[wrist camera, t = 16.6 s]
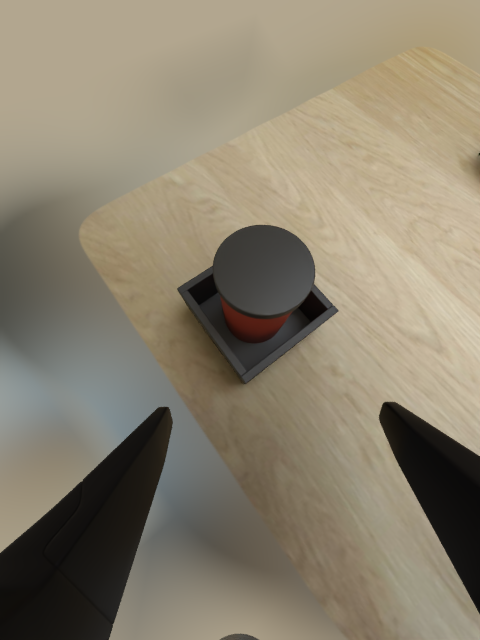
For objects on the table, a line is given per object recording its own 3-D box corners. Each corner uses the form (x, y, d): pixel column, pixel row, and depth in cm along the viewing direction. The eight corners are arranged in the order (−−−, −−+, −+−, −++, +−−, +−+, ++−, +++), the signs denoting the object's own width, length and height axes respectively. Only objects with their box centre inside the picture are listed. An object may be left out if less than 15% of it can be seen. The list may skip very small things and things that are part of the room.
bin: (318, 326, 24) (339, 310, 20) (244, 384, 23) (245, 383, 18) (260, 259, 27) (265, 231, 22) (188, 307, 25) (176, 288, 20)
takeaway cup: (295, 305, 24) (332, 253, 15) (264, 357, 23) (284, 336, 13) (243, 276, 25) (247, 209, 16) (210, 323, 24) (191, 281, 14)
